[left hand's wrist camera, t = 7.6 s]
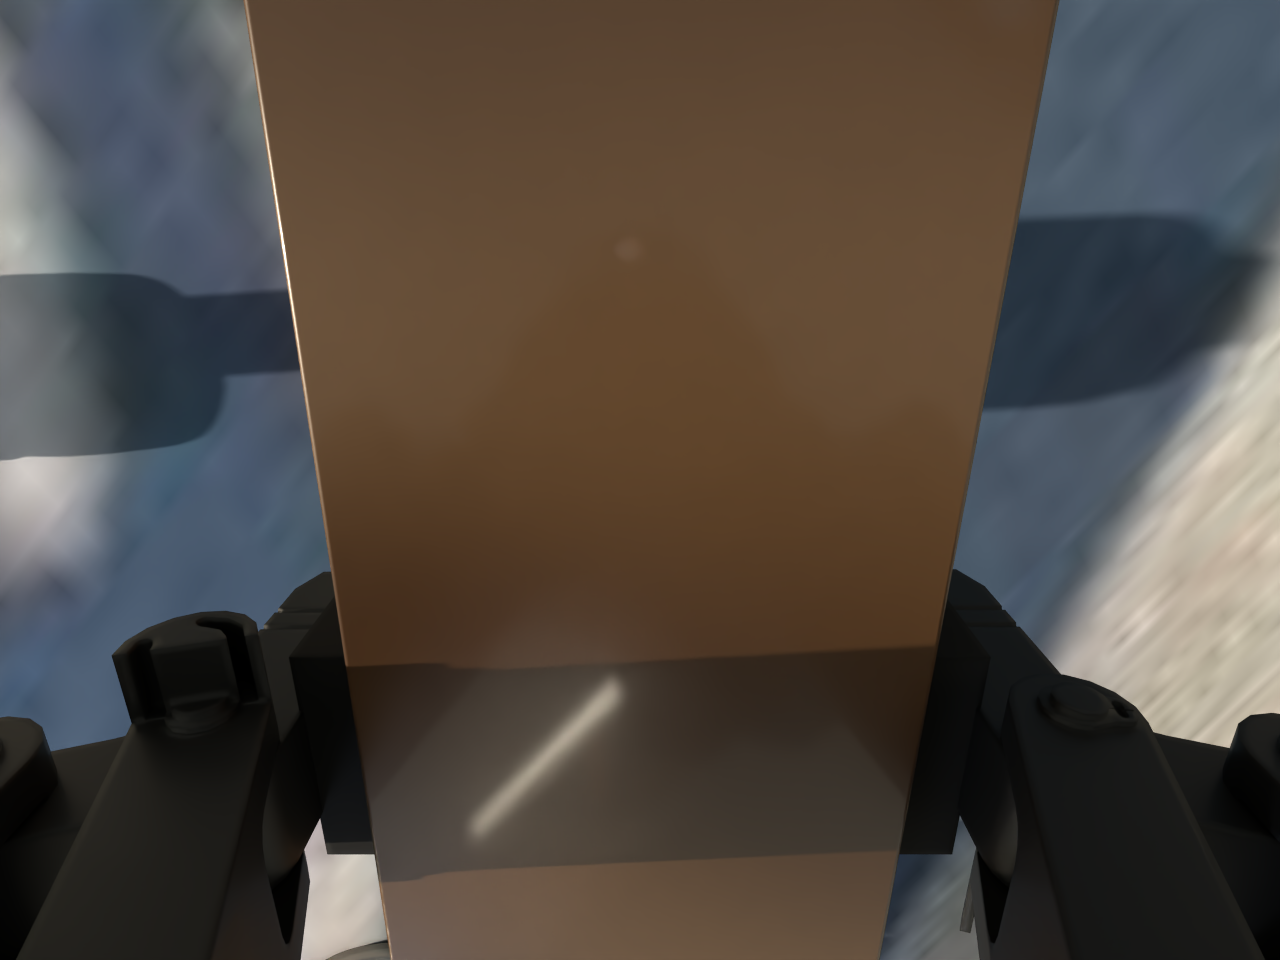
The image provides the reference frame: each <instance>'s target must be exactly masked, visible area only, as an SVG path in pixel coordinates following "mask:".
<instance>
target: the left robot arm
mask: <svg viewBox="0 0 1280 960" xmlns="http://www.w3.org/2000/svg"><path fill="white" fill-rule="evenodd" d="M112 658H113V662H114V665H115V669H116V672H117V675H118V679H119V682H120V685H121V689H122V692H123V696H124V699H125V702H126V706H127V709H128V712H129V716H130V719H131V723H132V724H131V726H130V728H129V730H128V732H127V734H126V736H123V737H119V738H116V739H111V740H106V741H101V742H96V743H91V744H86V745H81V746H76V747H71V748H66V749H61V750H56V751H50V748H49V745H48V743H47V740H46V737H45V734H44V731H43V728H42V727H41V726H40V725H38V724H37V723H35V722H34V721H33V720H31V719H28V718H18V717H1V718H0V960H301V951H302V943H303V935H304V927H305V918H306V910H307V902H308V894H309V885H310V879H309V872H308V866H307V861H306V856H305V851H304V849H305V847H306V845H307V843H308V841H309V839H310V837H311V835H312V833H313V831H314V829H315V827H316V825H317V823H318V821H319V819H321V824H322V829H323V834H324V839H325V844H326V850H327V854H374V847H373V841H372V834H371V828H370V821H369V815H368V808H367V802H366V795H365V788H364V782H363V775H362V769H361V762H360V756H359V749H358V743H357V736H356V730H355V723H354V717H353V710H352V704H351V697H350V691H349V684H348V678H347V671H346V665H345V658H344V652H343V645H342V638H341V632H340V625H339V619H338V612H337V606H336V599H335V593H334V586H333V580H332V573H331V572H323V573H321V574H319V575H318V576H316V577H314V578H313V579H311V580H309V581H308V582H306V583H304V584H303V585H301V586H299V587H298V588H296V589H295V590H294V591H293V592H292V593H291V595H290V596H289V597H288V598H287V599H286V600H285V601H284V603H283V604H282V605H281V606H280V607H279V608H278V613H274V614H273V615H272V617H271V618H270V619H269V620H268V621H267V622H266V624H265V625H264V629H260V630H259V632H258V629H257V624H256V622H255V621H253V620H252V619H251V618H249V617H248V616H246V615H245V614H240V613H235V612H229V611H213V612H199V613H195V614H190V615H185V616H181V617H176V618H173V619H170V620H167V621H165V622H162V623H159V624H157V625H154V626H151V627H149V628H147V629H145V630H143V631H142V632H140V633H138V634H137V635H135V636H133V637H132V638H130V639H128V640H127V641H125V642H124V643H123V644H122V645H121V646H120V647H119V648H118V649H117V650H116V652H115V653H114V654H113V655H112ZM959 816H961V818H962V820H963V822H964V824H965V826H966V828H967V830H968V832H969V834H970V836H971V838H972V840H973V842H974V844H975V846H976V851H975V856H974V861H973V866H972V870H971V875H970V880H969V885H968V889H967V894H966V899H965V904H964V908H963V913H962V919H961V926H960V931H964V932H968V933H970V932H971V927H972V923H973V918H974V916H975V925H976V933H977V941H978V949H979V958H980V960H1280V714H1276V713H1267V714H1257V715H1250V716H1249V717H1247V718H1246V719H1244V720H1243V721H1241V722H1240V723H1238V726H1237V729H1236V732H1235V735H1234V738H1233V741H1232V743H1231V746H1230V748H1226V747H1221V746H1216V745H1211V744H1206V743H1201V742H1196V741H1191V740H1186V739H1181V738H1176V737H1171V736H1166V735H1162V734H1158V733H1154V732H1153V731H1152V729H1151V727H1150V725H1149V723H1148V722H1147V720H1146V719H1145V718H1144V717H1143V715H1142V714H1141V713H1140V712H1139V710H1138V709H1137V708H1136V707H1135V706H1134V705H1132V704H1131V703H1130V702H1128V701H1127V700H1125V699H1124V698H1122V697H1121V696H1120V695H1118V694H1117V693H1115V692H1113V691H1111V690H1109V689H1106V688H1104V687H1102V686H1100V685H1097V684H1095V683H1093V682H1090V681H1087V680H1083V679H1079V678H1075V677H1071V676H1067V675H1061V674H1060V673H1059V671H1058V670H1057V669H1056V668H1055V667H1054V666H1053V665H1052V663H1051V662H1050V661H1049V660H1048V659H1047V658H1046V656H1045V655H1044V654H1043V653H1042V652H1041V651H1040V650H1039V648H1038V647H1037V646H1036V645H1035V644H1034V643H1033V641H1032V640H1031V639H1030V638H1029V637H1028V636H1027V635H1026V633H1025V632H1024V631H1023V630H1022V629H1021V628H1020V627H1016V622H1015V621H1014V620H1013V618H1012V617H1011V616H1010V615H1009V614H1008V613H1007V612H1006V610H1002V606H1001V605H1000V603H999V602H998V601H997V600H996V599H995V598H994V597H993V595H992V594H991V593H990V592H989V591H988V590H987V588H986V587H985V586H983V585H982V584H980V583H978V582H977V581H975V580H973V579H971V578H970V577H968V576H966V575H965V574H963V573H961V572H960V571H958V570H956V569H953V570H952V575H951V580H950V586H949V591H948V596H947V602H946V607H945V612H944V618H943V623H942V628H941V634H940V639H939V644H938V650H937V655H936V660H935V666H934V671H933V676H932V682H931V687H930V692H929V698H928V703H927V708H926V714H925V719H924V724H923V730H922V735H921V740H920V746H919V751H918V756H917V762H916V767H915V772H914V777H913V783H912V788H911V793H910V799H909V804H908V809H907V815H906V820H905V825H904V831H903V836H902V841H901V847H900V852H899V854H952V852H953V847H954V842H955V837H956V832H957V827H958V822H959ZM326 960H391V958H390V951H389V945H388V943H379V944H372V945H366V946H361V947H356V948H353V949H350V950H346V951H344V952H341V953H339V954H336V955H334V956H332V957H330V958H328V959H326Z"/></svg>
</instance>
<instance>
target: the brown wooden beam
mask: <svg viewBox="0 0 1280 960" xmlns="http://www.w3.org/2000/svg"><path fill="white" fill-rule="evenodd" d="M1058 5H1059V0H244V6H245V13H246V19H247V26H248V32H249V39H250V45H251V52H252V58H253V65H254V71H255V78H256V84H257V91H258V97H259V104H260V110H261V117H262V123H263V130H264V136H265V143H266V149H267V156H268V163H269V169H270V176H271V182H272V189H273V195H274V202H275V208H276V215H277V221H278V228H279V234H280V241H281V247H282V254H283V260H284V267H285V273H286V280H287V286H288V293H289V299H290V306H291V312H292V319H293V326H294V332H295V339H296V345H297V352H298V358H299V365H300V371H301V378H302V384H303V391H304V397H305V404H306V410H307V417H308V423H309V430H310V436H311V443H312V449H313V456H314V462H315V469H316V475H317V482H318V489H319V495H320V502H321V508H322V515H323V521H324V528H325V534H326V541H327V547H328V554H329V560H330V567H331V573H332V580H333V586H334V593H335V599H336V606H337V612H338V619H339V625H340V632H341V638H342V645H343V652H344V658H345V665H346V671H347V678H348V684H349V691H350V697H351V704H352V710H353V717H354V723H355V730H356V736H357V743H358V749H359V756H360V762H361V769H362V775H363V782H364V788H365V795H366V802H367V808H368V815H369V821H370V828H371V834H372V841H373V847H374V854H375V860H376V867H377V873H378V880H379V886H380V893H381V899H382V906H383V912H384V919H385V925H386V932H387V938H388V945H389V951H390V958H391V960H879V959H880V953H881V948H882V943H883V937H884V932H885V927H886V921H887V916H888V911H889V905H890V900H891V895H892V889H893V884H894V879H895V873H896V868H897V863H898V857H899V852H900V847H901V841H902V836H903V831H904V825H905V820H906V815H907V809H908V804H909V799H910V793H911V788H912V783H913V777H914V772H915V767H916V762H917V756H918V751H919V746H920V740H921V735H922V730H923V724H924V719H925V714H926V708H927V703H928V698H929V692H930V687H931V682H932V676H933V671H934V666H935V660H936V655H937V650H938V644H939V639H940V634H941V628H942V623H943V618H944V612H945V607H946V602H947V596H948V591H949V586H950V580H951V575H952V570H953V564H954V559H955V554H956V548H957V543H958V538H959V532H960V527H961V522H962V516H963V511H964V506H965V501H966V495H967V490H968V485H969V479H970V474H971V469H972V463H973V458H974V453H975V447H976V442H977V437H978V431H979V426H980V421H981V415H982V410H983V405H984V399H985V394H986V389H987V383H988V378H989V373H990V367H991V362H992V357H993V351H994V346H995V341H996V335H997V330H998V325H999V319H1000V314H1001V309H1002V303H1003V298H1004V293H1005V287H1006V282H1007V277H1008V271H1009V266H1010V261H1011V255H1012V250H1013V245H1014V240H1015V234H1016V229H1017V224H1018V218H1019V213H1020V208H1021V202H1022V197H1023V192H1024V186H1025V181H1026V176H1027V170H1028V165H1029V160H1030V154H1031V149H1032V144H1033V138H1034V133H1035V128H1036V122H1037V117H1038V112H1039V106H1040V101H1041V96H1042V90H1043V85H1044V80H1045V74H1046V69H1047V64H1048V58H1049V53H1050V48H1051V42H1052V37H1053V32H1054V26H1055V21H1056V16H1057V10H1058Z"/></svg>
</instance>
